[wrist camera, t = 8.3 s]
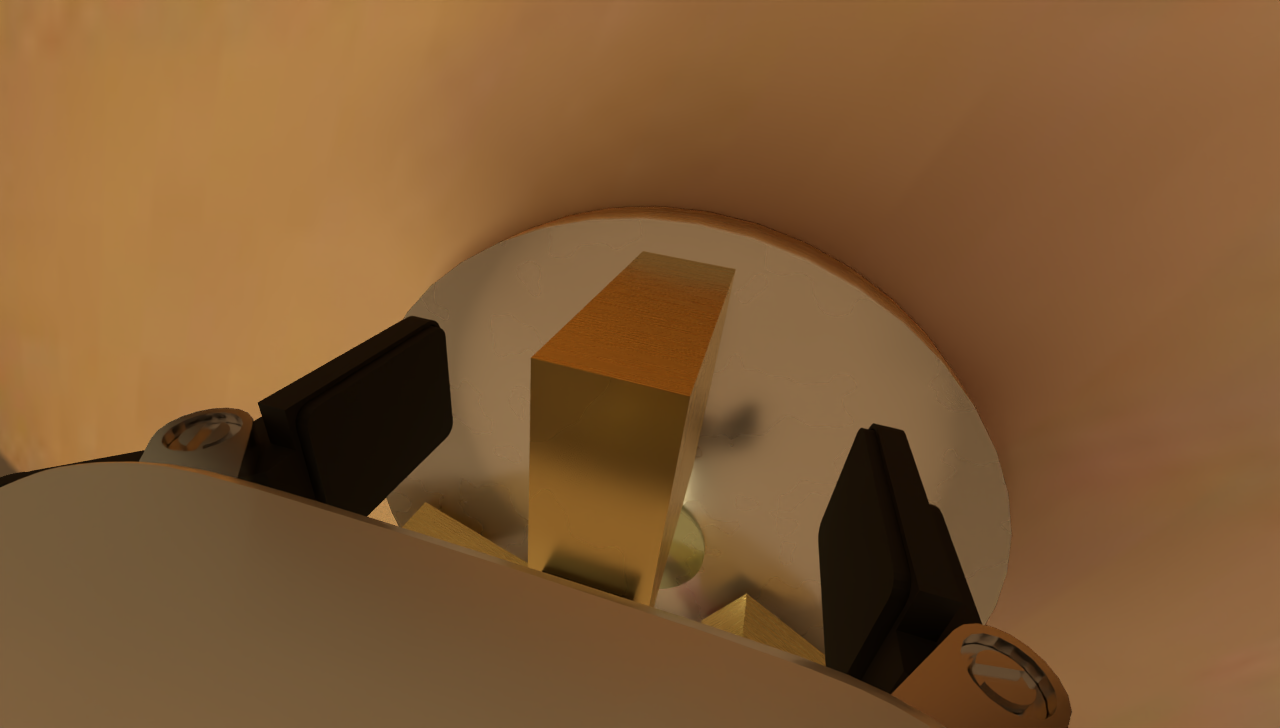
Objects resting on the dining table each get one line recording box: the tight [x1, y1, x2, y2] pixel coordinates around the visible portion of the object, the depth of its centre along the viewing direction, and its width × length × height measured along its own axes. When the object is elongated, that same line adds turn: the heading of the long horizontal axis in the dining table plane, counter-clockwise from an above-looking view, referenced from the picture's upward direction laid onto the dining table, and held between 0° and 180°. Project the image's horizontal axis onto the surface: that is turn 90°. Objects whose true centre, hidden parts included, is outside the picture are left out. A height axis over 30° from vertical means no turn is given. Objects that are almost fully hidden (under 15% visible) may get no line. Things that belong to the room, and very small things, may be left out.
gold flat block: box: [528, 251, 736, 608], centre depth 11 cm, size 6×2×7 cm, turn 173°
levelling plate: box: [386, 206, 1012, 655], centre depth 19 cm, size 22×22×2 cm
